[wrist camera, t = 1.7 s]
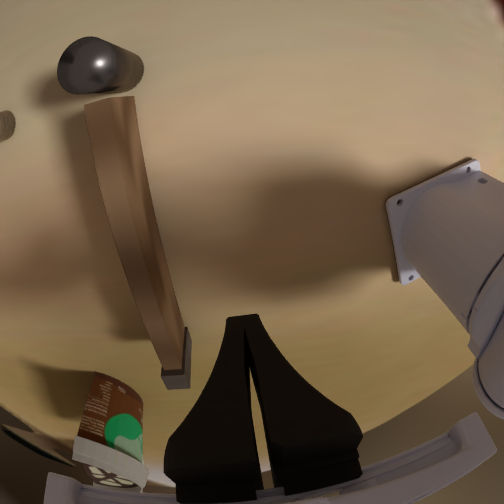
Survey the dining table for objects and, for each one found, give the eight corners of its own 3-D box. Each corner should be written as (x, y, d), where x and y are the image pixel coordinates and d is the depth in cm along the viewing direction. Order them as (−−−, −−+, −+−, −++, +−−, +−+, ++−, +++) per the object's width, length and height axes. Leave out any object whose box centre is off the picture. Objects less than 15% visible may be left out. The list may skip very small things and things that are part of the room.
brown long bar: (110, 102, 13) (75, 107, 9) (137, 95, 13) (109, 96, 9) (171, 343, 22) (167, 389, 18) (191, 341, 22) (190, 388, 18)
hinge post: (133, 44, 12) (97, 25, 7) (151, 77, 13) (120, 70, 9) (97, 67, 12) (49, 61, 8) (114, 100, 14) (71, 106, 9)
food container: (151, 429, 30) (148, 501, 22) (103, 420, 29) (93, 490, 20) (157, 376, 25) (149, 474, 16) (94, 362, 23) (70, 456, 15)
